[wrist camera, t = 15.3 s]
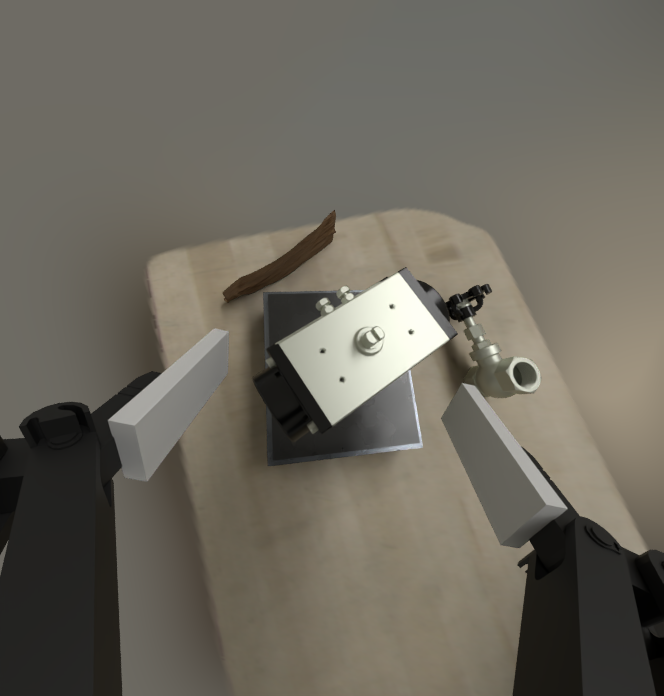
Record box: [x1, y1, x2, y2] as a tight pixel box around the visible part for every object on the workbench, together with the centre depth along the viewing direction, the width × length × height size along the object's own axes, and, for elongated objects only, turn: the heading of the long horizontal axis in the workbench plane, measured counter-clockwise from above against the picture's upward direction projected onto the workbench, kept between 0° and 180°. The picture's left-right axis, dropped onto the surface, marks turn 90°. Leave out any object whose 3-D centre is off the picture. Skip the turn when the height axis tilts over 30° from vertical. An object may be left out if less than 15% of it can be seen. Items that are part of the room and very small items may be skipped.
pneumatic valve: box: [253, 267, 457, 442], centre depth 17 cm, size 6×12×12 cm, turn 124°
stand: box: [263, 290, 423, 466], centre depth 26 cm, size 16×14×5 cm
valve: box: [445, 284, 541, 398], centre depth 28 cm, size 7×7×12 cm
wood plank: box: [223, 210, 336, 303], centre depth 28 cm, size 15×2×5 cm, turn 132°
